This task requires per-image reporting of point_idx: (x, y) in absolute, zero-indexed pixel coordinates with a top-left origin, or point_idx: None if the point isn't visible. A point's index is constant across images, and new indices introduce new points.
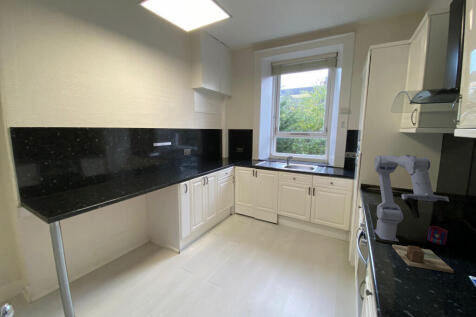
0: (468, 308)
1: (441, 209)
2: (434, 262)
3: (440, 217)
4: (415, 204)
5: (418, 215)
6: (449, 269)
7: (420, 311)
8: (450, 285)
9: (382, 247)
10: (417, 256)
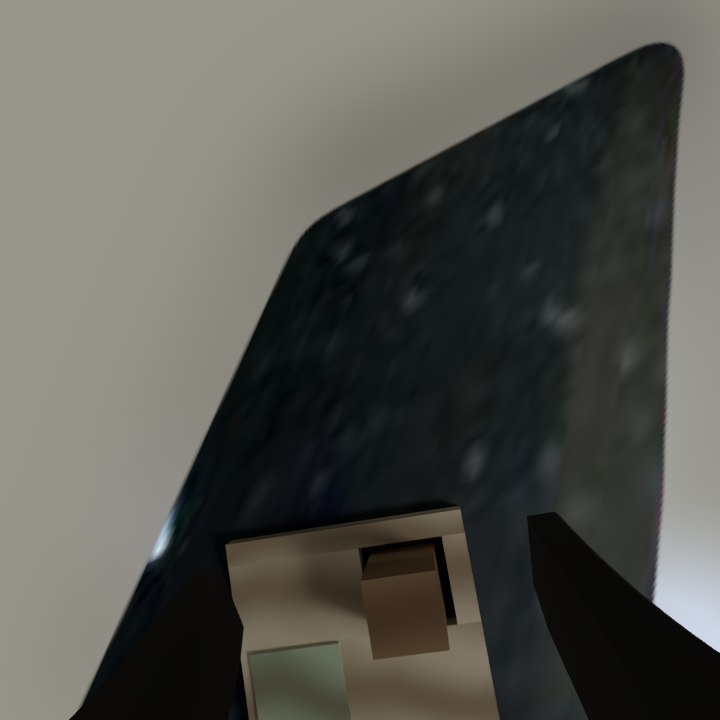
0: (301, 247)
1: (132, 716)
2: (297, 594)
3: (213, 616)
4: (712, 703)
5: (552, 535)
6: (244, 544)
7: (513, 118)
8: (300, 399)
9: (577, 695)
10: (403, 562)
